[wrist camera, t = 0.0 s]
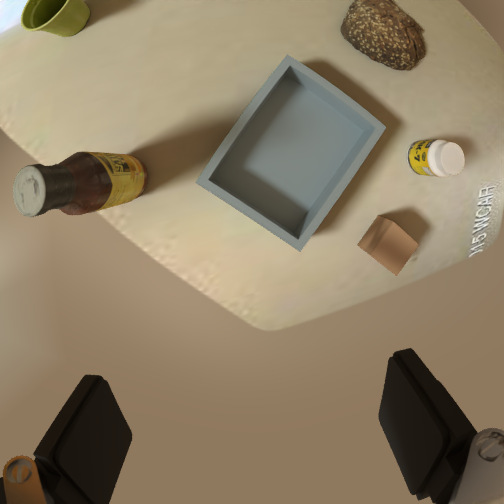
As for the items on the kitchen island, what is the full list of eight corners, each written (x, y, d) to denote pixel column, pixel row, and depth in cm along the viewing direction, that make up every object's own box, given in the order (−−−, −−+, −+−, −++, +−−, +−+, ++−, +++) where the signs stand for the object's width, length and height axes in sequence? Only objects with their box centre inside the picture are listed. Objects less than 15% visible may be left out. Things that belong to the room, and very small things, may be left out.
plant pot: (57, 58, 32) (25, 43, 23) (45, 23, 29) (17, 7, 21) (106, 21, 30) (80, -3, 22) (91, -12, 28) (67, -35, 20)
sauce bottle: (155, 162, 37) (72, 161, 17) (141, 207, 38) (55, 245, 19) (113, 148, 36) (14, 143, 17) (100, 193, 37) (1, 218, 18)
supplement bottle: (413, 134, 36) (447, 130, 27) (436, 154, 36) (472, 154, 28) (400, 162, 37) (432, 163, 29) (423, 181, 37) (458, 186, 29)
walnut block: (377, 215, 39) (393, 221, 34) (401, 235, 39) (418, 244, 35) (356, 244, 40) (370, 255, 35) (381, 264, 41) (396, 276, 36)
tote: (282, 67, 33) (287, 54, 29) (370, 131, 36) (386, 127, 31) (202, 180, 37) (195, 182, 32) (294, 241, 39) (300, 251, 35)
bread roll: (327, 31, 32) (336, 16, 27) (366, -13, 29) (377, -28, 25) (401, 88, 34) (418, 80, 29) (432, 39, 31) (449, 30, 27)
